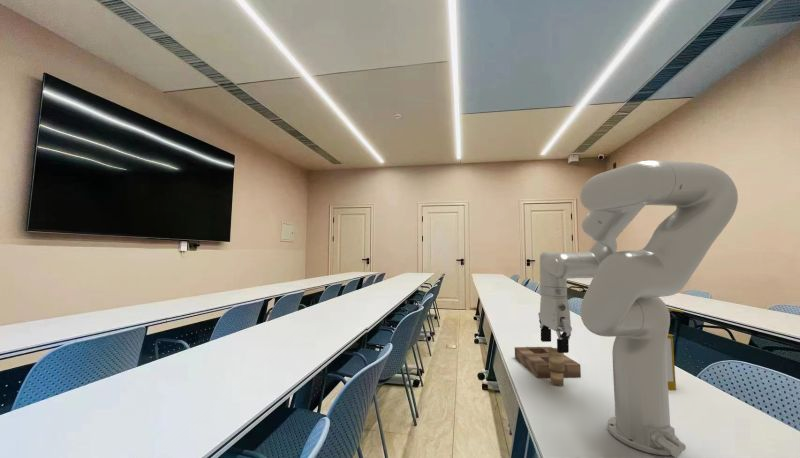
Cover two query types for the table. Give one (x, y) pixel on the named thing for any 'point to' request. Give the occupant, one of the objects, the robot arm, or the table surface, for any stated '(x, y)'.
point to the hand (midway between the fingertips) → (554, 346)
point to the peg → (556, 367)
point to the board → (544, 362)
